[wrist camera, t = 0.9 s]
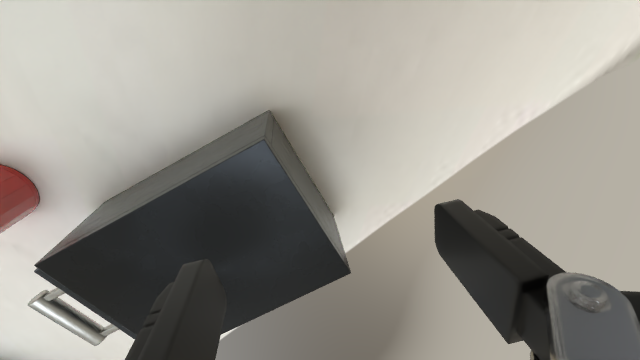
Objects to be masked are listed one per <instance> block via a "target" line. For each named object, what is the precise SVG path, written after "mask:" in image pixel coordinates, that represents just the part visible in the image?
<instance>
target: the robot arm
mask: <svg viewBox="0 0 640 360" xmlns="http://www.w3.org/2000/svg"><path fill="white" fill-rule="evenodd" d="M434 212H435V243H436V247H437V249H438V252H439V254H440V256H441V257H442V258H443V260H444V261H445V262H446V264H447V265H448V266H449V268H450V269H451V270H452V271H453V273H454V274H455V275H456V277H457V278H458V279H459V280H460V282H461V283H462V284H463V286H464V287H465V288H466V290H467V291H468V292H469V293H470V295H471V296H472V298H473V299H474V300H475V301H476V302H477V304H478V305H479V307H480V308H481V309H482V310H483V312H484V313H485V315H486V316H487V317H488V318H489V320H490V321H491V322H492V323H493V325H494V326H495V328H496V329H497V330H498V331H499V333H500V334H501V335H502V337H503V338H504V339H505V341H506V342H507V343H508V344H511V343H515V342H519V341H523V340H524V341H525V343H526V344H527V345H528V346H529V347H530V349H531V352H530V360H640V292H630V291H618V290H617V289H616V288H615V287H613V286H611V285H610V284H608V283H606V282H604V281H602V280H600V279H597V278H595V277H591V276H588V275H584V274H579V273H567V272H565V271H564V270H563V269H561V268H560V267H559V266H558V265H556V264H555V263H553V262H552V261H551V260H550V259H548V258H547V257H546V256H545V255H543V254H542V253H541V252H539V251H538V250H537V249H536V248H535V247H533V246H532V245H531V244H529V243H528V242H527V241H526V240H524V239H523V238H520V237H519V235H518V234H516V233H515V232H514V231H513V230H511V229H508V226H506V225H505V224H504V223H503V222H501V221H500V220H499V219H498V218H496V217H495V216H492V215H490V214H488V213H485V212H483V211H481V210H476V211H473V210H472V209H471V208H470V207H468V206H467V205H466V204H465V203H464V202H463V201H461V200H459V199H457V200H453V201H449V202H444V203H440V204H437V205H436V206H435V211H434ZM226 308H227V298H226V292H225V290H224V287H223V285H222V283H221V281H220V279H219V277H218V275H217V273H216V271H215V269H214V267H213V265H212V263H211V262H210V260H208V259H203V260H199V261H195V262H190V263H186V264H184V265H182V267H181V269H180V271H179V273H178V275H177V277H176V279H175V281H174V282H172V283H169V284H168V285H167V287H166V288H165V289H164V290H163V291H162V292H161V293H160V294H159V296H158V297H157V298H156V300H155V302H154V304H153V306H152V308H151V310H150V312H149V315H148V316H147V318H146V319H145V321H144V323H143V325H142V326H143V328H142V329H140V331H139V333H138V335H137V337H136V339H135V341H134V343H133V345H132V347H131V349H130V351H129V353H128V355H127V357H126V358H125V360H215V358H216V353H217V348H218V344H219V340H220V335H221V331H222V326H223V321H224V317H225V312H226Z"/></svg>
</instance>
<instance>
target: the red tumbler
mask: <svg viewBox="0 0 640 360" xmlns="http://www.w3.org/2000/svg"><path fill="white" fill-rule="evenodd" d="M38 203H39V194H38V191H37V189H36V187H35V186H34V184H33V183H32V182H31V181H30V180H29V179H28V178H27V177H26V176H24V175H23V174H22V173H20V172H18V171H16V170H14V169H12V168H10V167H7V166H4V165H0V233H2V232H3V231H5V230H6V229H8V228H9V227H11V226H12V225H13V224H15V223H16V222H18V221H19V220H21V219H22V218H24V217H25V216H27V215H28V214H30V213H31V212H32V211H34V210H35V209H36V207H37V206H38Z"/></svg>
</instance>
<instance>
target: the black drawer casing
mask: <svg viewBox="0 0 640 360" xmlns="http://www.w3.org/2000/svg"><path fill="white" fill-rule="evenodd" d="M203 259H208V260H210V262H211V263H212V265H213V267H214V269H215V271H216V273H217V275H218V277H219V279H220V281H221V283H222V285H223V287H224V290H225V292H226V298H227V308H226V312H225V317H224V321H223V326H222V331H221V334H223V333H225V332H227V331H229V330H232V329H234V328H236V327H238V326H240V325H242V324H244V323H246V322H248V321H251V320H253V319H255V318H257V317H259V316H261V315H263V314H265V313H268V312H270V311H272V310H274V309H276V308H278V307H280V306H282V305H284V304H287V303H288V302H291V301H293V300H295V299H297V298H299V297H301V296H304V295H306V294H308V293H310V292H312V291H314V290H316V289H318V288H320V287H322V286H325V285H327V284H329V283H331V282H333V281H335V280H337V279H339V278H342V277H344V276H346V275H348V274H350V273H351V272H350V268H349V265H348V261H347V258H346V255H345V252H344V248H343V245H342V242H341V238H340V235H339V232H338V229H337V225H336V222H335V219H334V216H333V214H332V213H331V211H330V209H329V208H328V206H327V204H326V203H325V201H324V199H323V198H322V196H321V194H320V193H319V191H318V190H317V188H316V186H315V185H314V183H313V181H312V180H311V178H310V176H309V175H308V173H307V171H306V170H305V168H304V166H303V165H302V163H301V161H300V160H299V158H298V156H297V155H296V153H295V151H294V150H293V148H292V146H291V145H290V143H289V142H288V140H287V138H286V137H285V135H284V133H283V132H282V130H281V128H280V127H279V125H278V123H277V122H276V120H275V118H274V117H273V115H272V113H271V112H270V110H268V111H266V112H265V113H263V114H261V115H259V116H257V117H256V118H254V119H252V120H250V121H248V122H247V123H245V124H243V125H241V126H240V127H238V128H236V129H234V130H232V131H231V132H229V133H227V134H225V135H223V136H222V137H220V138H218V139H216V140H215V141H213V142H211V143H209V144H207V145H206V146H204V147H202V148H200V149H199V150H197V151H195V152H193V153H191V154H190V155H188V156H186V157H184V158H182V159H181V160H179V161H177V162H175V163H174V164H172V165H170V166H168V167H166V168H165V169H163V170H161V171H159V172H157V173H156V174H154V175H152V176H150V177H149V178H147V179H145V180H143V181H141V182H140V183H138V184H136V185H134V186H132V187H131V188H129V189H127V190H125V191H124V192H122V193H120V194H118V195H116V196H115V197H113V198H111V199H109V200H107V201H106V202H104V203H103V204H102V205H101V206H100V207H99V208H98V209H96V210H95V211H94V212H93V213H92V214H91V215H90V216H89V217H87V218H86V219H85V220H84V221H83V222H82V223H81V224H80V225H79V226H77V227H76V228H75V229H74V230H73V231H72V232H71V233H70V234H69V235H67V236H66V237H65V238H64V239H63V240H62V241H61V242H60V243H59V244H57V245H56V246H55V247H54V248H53V249H52V250H51V251H50V252H49V253H47V254H46V255H45V256H44V257H43V258H42V259H41V260H40V261H38V262H37V263H36V264H35V265H34V266H36V267H37V268H39V269H40V270H41V271H43V272H44V273H46V274H47V275H49V276H50V277H52V278H53V279H55V280H56V281H58V282H59V283H60V284H62V285H63V286H65V287H66V288H68V289H69V290H71V291H72V292H74V293H75V294H77V295H78V296H80V297H81V298H82V299H84V300H85V301H87V302H88V303H90V304H91V305H93V306H94V307H96V308H97V309H99V310H100V311H102V312H103V313H104V314H106V315H107V316H109V317H110V318H112V319H113V320H115V321H116V322H118V323H119V324H121V325H122V326H123V327H125V328H126V329H128V330H129V331H131V332H132V333H134V334H135V335H138V333H139V331H140V329H142V328H143V326H142V325H143V323H144V321H145V319H146V318H147V316H148V315H149V312H150V310H151V308H152V306H153V304H154V302H155V300H156V298H157V297H158V296H159V294H160V293H161V292H162V291H163V290H164V289H165V288H166V287H167V285H168V284H169V283H172V282H174V281H175V279H176V277H177V275H178V273H179V271H180V269H181V267H182V265H184V264H186V263H190V262H195V261H199V260H203Z"/></svg>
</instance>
